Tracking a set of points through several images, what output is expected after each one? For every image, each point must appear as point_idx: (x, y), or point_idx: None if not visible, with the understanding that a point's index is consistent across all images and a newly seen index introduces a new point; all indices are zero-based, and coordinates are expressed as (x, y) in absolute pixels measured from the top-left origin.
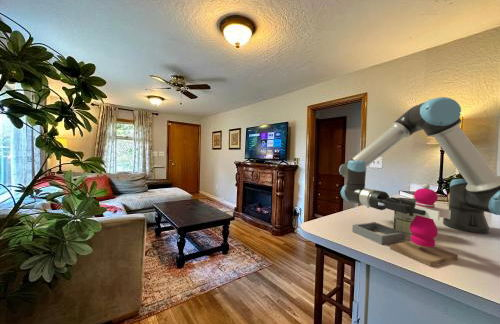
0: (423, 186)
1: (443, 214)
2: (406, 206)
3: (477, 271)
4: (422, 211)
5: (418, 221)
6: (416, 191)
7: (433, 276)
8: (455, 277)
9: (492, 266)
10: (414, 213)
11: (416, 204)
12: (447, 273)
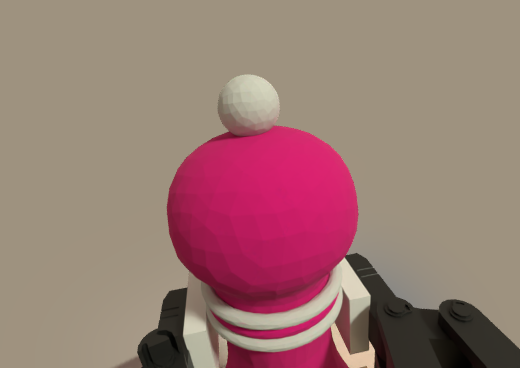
0: (277, 105)
1: None
2: (459, 303)
3: (226, 344)
4: (361, 260)
5: (345, 363)
6: (339, 176)
7: None
8: (335, 324)
9: (130, 364)
10: (368, 341)
11: (336, 297)
12: (339, 341)
